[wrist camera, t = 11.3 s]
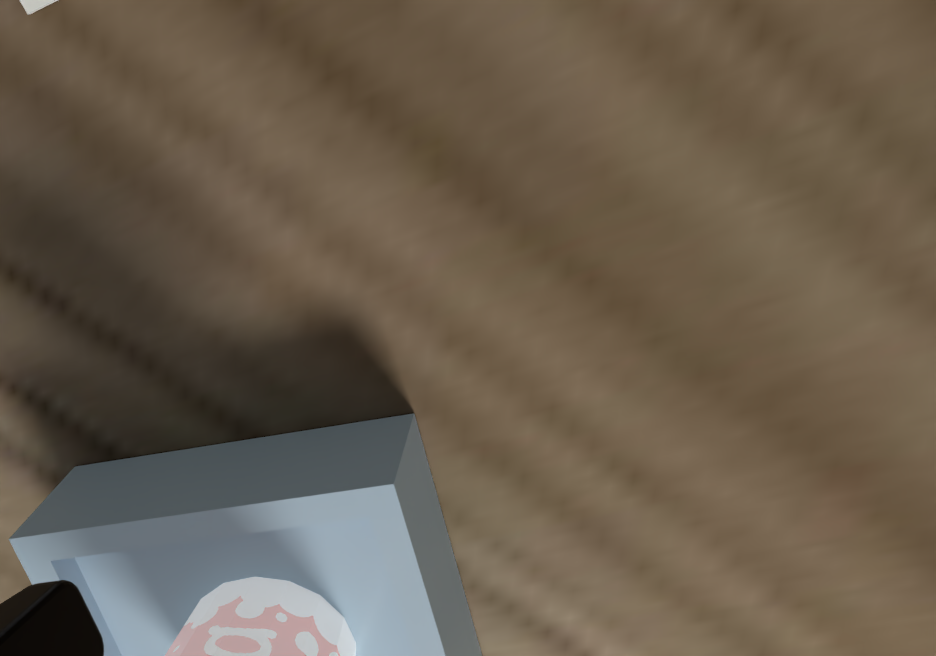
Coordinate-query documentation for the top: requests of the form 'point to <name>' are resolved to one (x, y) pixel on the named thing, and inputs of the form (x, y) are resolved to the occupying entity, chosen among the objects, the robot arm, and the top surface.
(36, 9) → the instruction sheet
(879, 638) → the top surface
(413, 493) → the rectangular tray
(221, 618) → the beverage cup
